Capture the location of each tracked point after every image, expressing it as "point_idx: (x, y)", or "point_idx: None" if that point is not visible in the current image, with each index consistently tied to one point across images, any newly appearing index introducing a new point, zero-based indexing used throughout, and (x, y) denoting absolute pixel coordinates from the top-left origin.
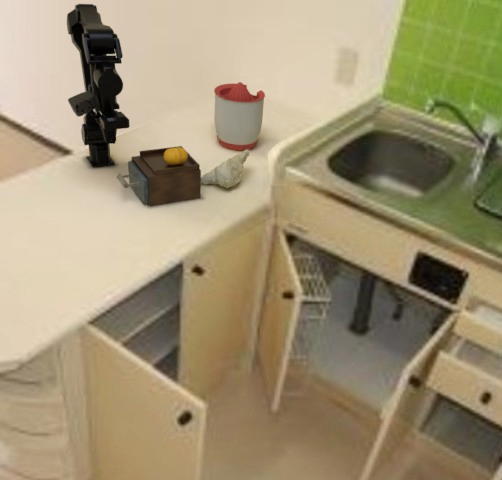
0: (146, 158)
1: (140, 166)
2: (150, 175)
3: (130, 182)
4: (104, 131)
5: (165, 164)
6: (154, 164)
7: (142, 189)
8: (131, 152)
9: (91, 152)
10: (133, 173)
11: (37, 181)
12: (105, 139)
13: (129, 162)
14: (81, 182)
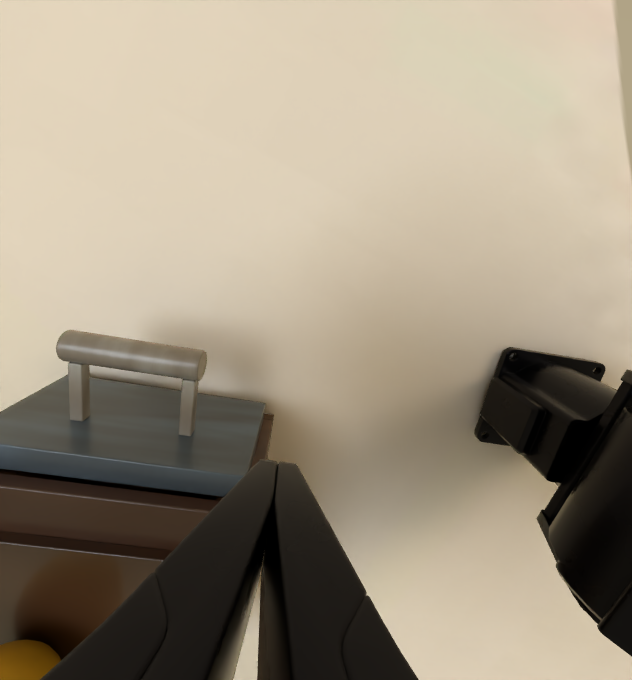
0: None
1: (94, 503)
2: None
3: (244, 407)
4: (126, 603)
5: (49, 623)
6: (67, 578)
7: (37, 404)
8: (529, 531)
9: (576, 384)
10: (163, 440)
11: (537, 26)
12: (247, 480)
13: (224, 476)
14: (404, 235)
